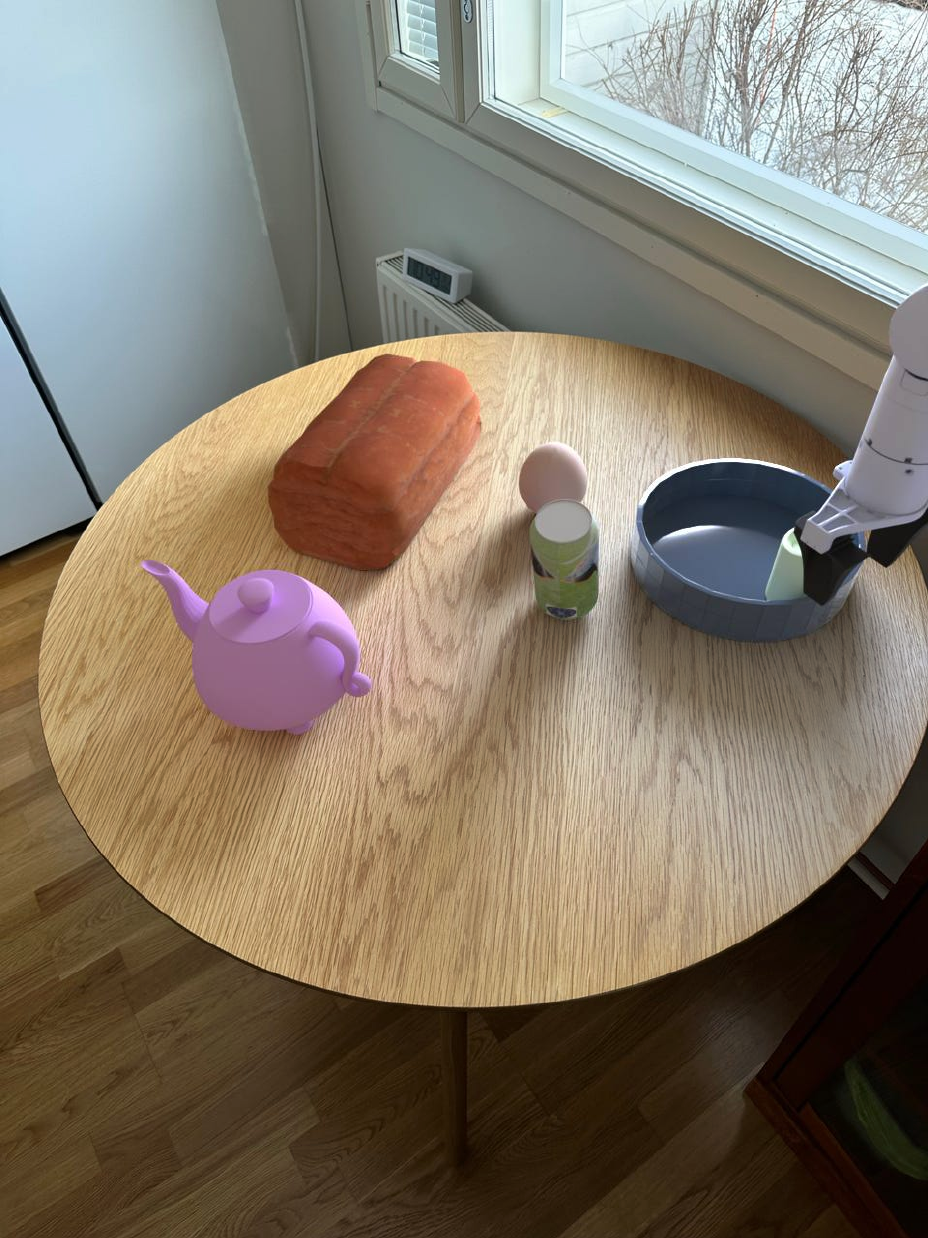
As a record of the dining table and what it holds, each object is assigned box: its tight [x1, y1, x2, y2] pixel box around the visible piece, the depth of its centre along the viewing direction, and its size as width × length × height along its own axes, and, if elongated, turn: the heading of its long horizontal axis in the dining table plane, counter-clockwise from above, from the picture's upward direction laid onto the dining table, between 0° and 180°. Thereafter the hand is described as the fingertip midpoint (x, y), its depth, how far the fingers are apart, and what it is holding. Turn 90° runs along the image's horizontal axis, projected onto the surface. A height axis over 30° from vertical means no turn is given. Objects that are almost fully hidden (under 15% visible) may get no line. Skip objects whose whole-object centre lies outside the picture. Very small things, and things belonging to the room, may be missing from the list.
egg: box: [518, 441, 588, 515], centre depth 86 cm, size 7×7×8 cm
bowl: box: [630, 457, 867, 643], centre depth 81 cm, size 21×21×5 cm
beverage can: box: [528, 499, 600, 621], centre depth 75 cm, size 6×7×12 cm
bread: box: [267, 353, 482, 571], centre depth 89 cm, size 16×27×11 cm, turn 158°
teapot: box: [141, 559, 373, 736], centre depth 70 cm, size 20×14×12 cm
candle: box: [765, 528, 807, 601], centre depth 75 cm, size 5×5×8 cm
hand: (847, 578), depth 68 cm, fingers open, 7 cm apart
